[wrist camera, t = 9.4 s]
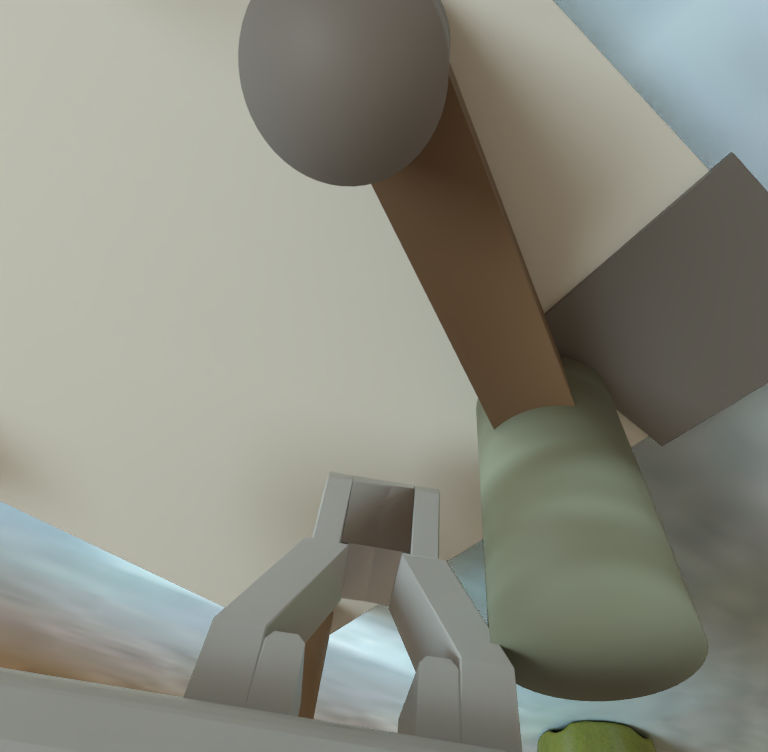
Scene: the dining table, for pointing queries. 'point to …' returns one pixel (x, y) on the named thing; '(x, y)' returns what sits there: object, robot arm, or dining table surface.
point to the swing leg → (485, 345)
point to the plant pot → (594, 739)
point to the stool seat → (321, 285)
